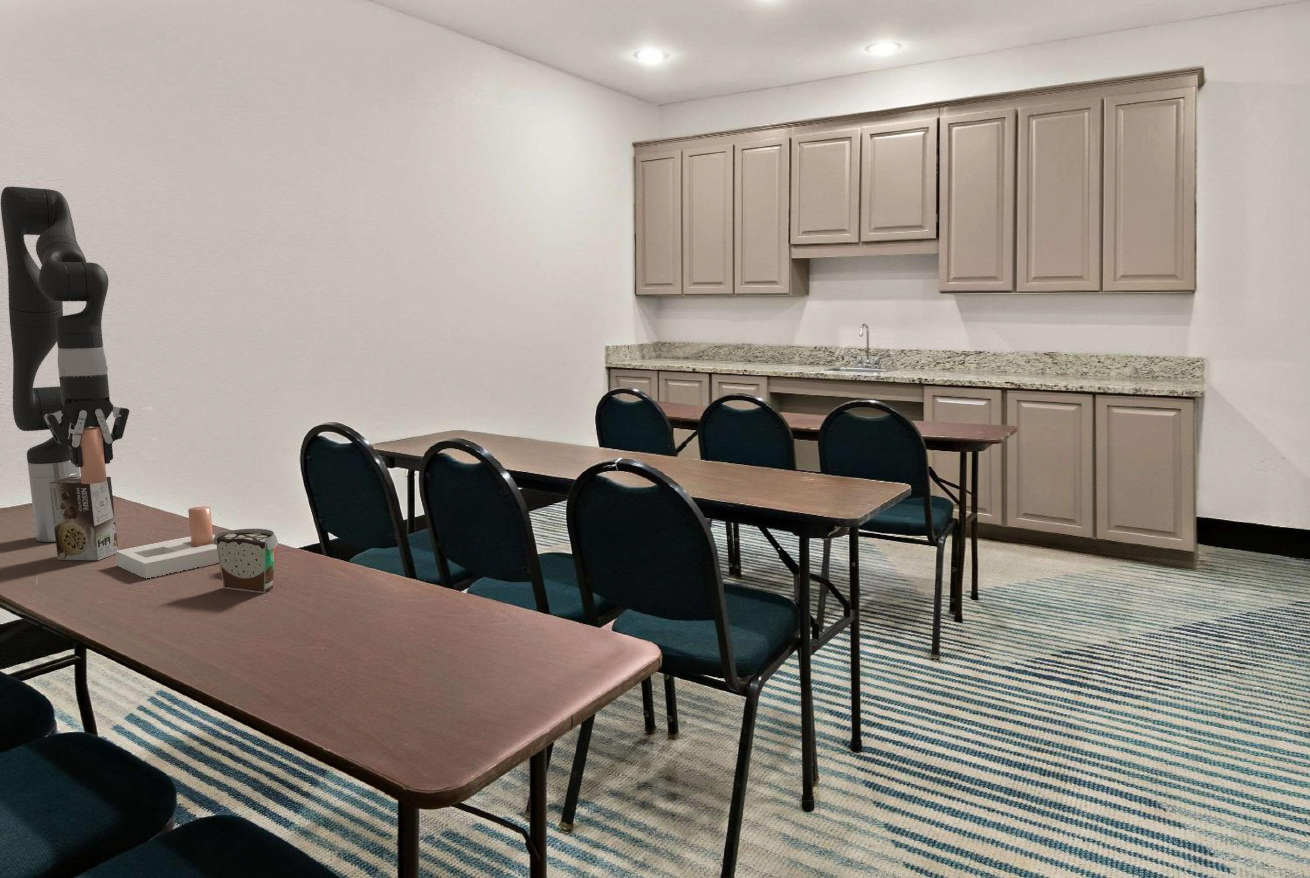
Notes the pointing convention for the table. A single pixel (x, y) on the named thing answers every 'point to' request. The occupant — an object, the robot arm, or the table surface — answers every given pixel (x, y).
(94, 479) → the pin
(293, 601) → the table surface
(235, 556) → the food container
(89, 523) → the coffee box
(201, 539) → the pin board
